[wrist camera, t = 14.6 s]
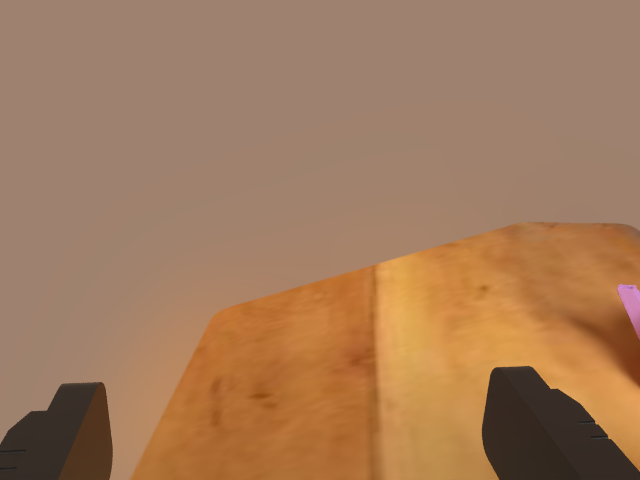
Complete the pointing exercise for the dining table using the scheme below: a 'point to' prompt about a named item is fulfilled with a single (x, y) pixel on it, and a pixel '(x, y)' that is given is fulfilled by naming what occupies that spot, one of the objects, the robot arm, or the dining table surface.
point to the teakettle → (631, 304)
